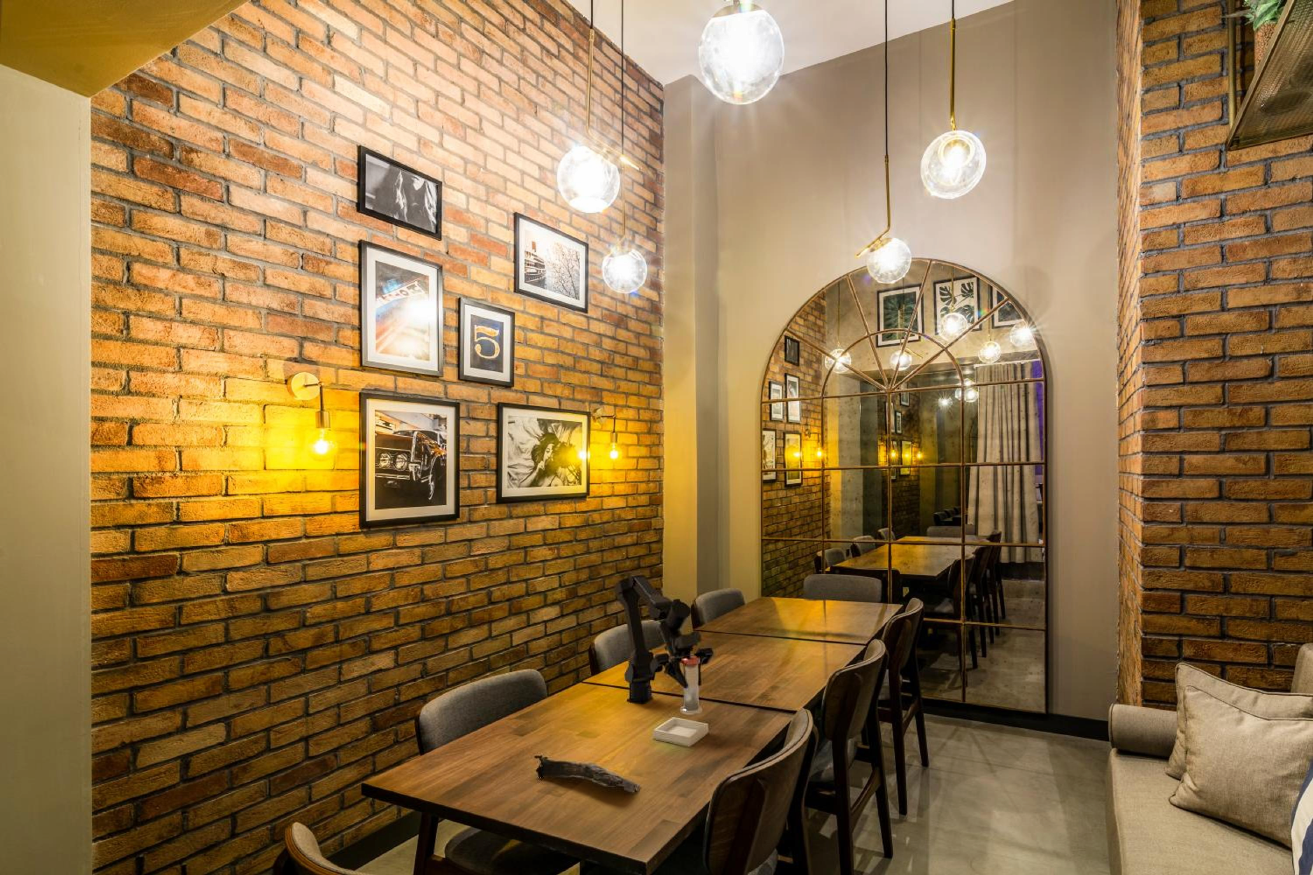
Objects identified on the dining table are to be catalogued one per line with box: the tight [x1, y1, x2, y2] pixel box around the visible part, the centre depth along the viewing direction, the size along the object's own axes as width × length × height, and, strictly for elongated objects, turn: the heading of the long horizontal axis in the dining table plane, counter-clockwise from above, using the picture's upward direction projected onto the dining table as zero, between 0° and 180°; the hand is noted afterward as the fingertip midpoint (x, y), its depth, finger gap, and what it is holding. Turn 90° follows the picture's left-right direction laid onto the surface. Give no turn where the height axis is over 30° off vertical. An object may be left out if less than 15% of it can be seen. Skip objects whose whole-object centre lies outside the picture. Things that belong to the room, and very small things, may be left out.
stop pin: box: [680, 656, 703, 716], centre depth 187 cm, size 6×6×15 cm
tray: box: [652, 716, 709, 748], centre depth 185 cm, size 11×11×2 cm
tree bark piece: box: [533, 754, 642, 794], centre depth 157 cm, size 27×9×10 cm
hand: (693, 686), depth 186 cm, fingers closed on stop pin, 4 cm apart
